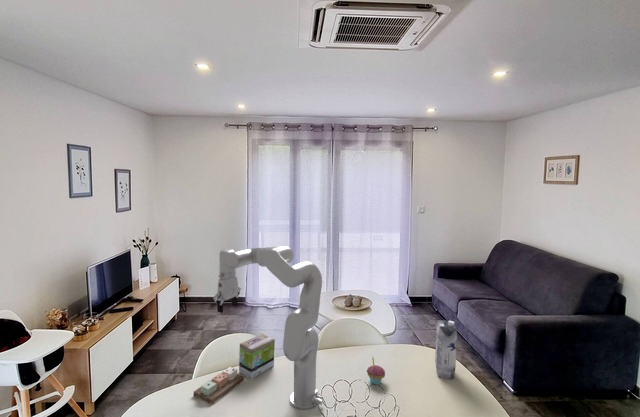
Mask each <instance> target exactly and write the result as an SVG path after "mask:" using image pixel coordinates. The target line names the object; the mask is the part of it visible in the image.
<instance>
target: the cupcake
mask: <svg viewBox="0 0 640 417" xmlns="http://www.w3.org/2000/svg"><path fill="white" fill-rule="evenodd" d="M371 359H372V365H370V366H369V367H368V368H367V369H366V374H367V376H368V377H369V380H370V383H371V384H373V385H380V384H381V381H382V380H383V379H384V378H385V376H386V372H385V369H384V368H383V367H382V366H380V365H378V364H377V365H375V358H374V356H373V355H372V357H371Z"/></svg>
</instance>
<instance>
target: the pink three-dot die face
mask: <svg viewBox="0 0 640 417" xmlns="http://www.w3.org/2000/svg"><path fill="white" fill-rule="evenodd" d="M211 380H212V382H214V383H216V384H217V388H221V387H223V386H224V385H225V384H226V383H227V380H228V379H227V376H225V375H223V374H221V373H218V374H217V375H215V376H213V377H212V379H211Z"/></svg>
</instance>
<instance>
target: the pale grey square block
mask: <svg viewBox="0 0 640 417" xmlns="http://www.w3.org/2000/svg"><path fill="white" fill-rule="evenodd" d="M200 387H201V393H203V394H204V395H206V396H210V395H211V394H213V392H215V391H216V390H217V388H218V387H217V384H216V383H214V382H211V381H210V380H207V381H206V382H204V383H203V384H202V385H200Z"/></svg>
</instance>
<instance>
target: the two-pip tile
mask: <svg viewBox="0 0 640 417" xmlns="http://www.w3.org/2000/svg"><path fill="white" fill-rule="evenodd" d="M222 373H223V375H225V376H227V380H229V381H231V380H233V379H234V378H235V377H236V376H237V374H238V369H237V368H235V367H232V366H229V367H228V368H226V369H224V370H223V371H222Z"/></svg>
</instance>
